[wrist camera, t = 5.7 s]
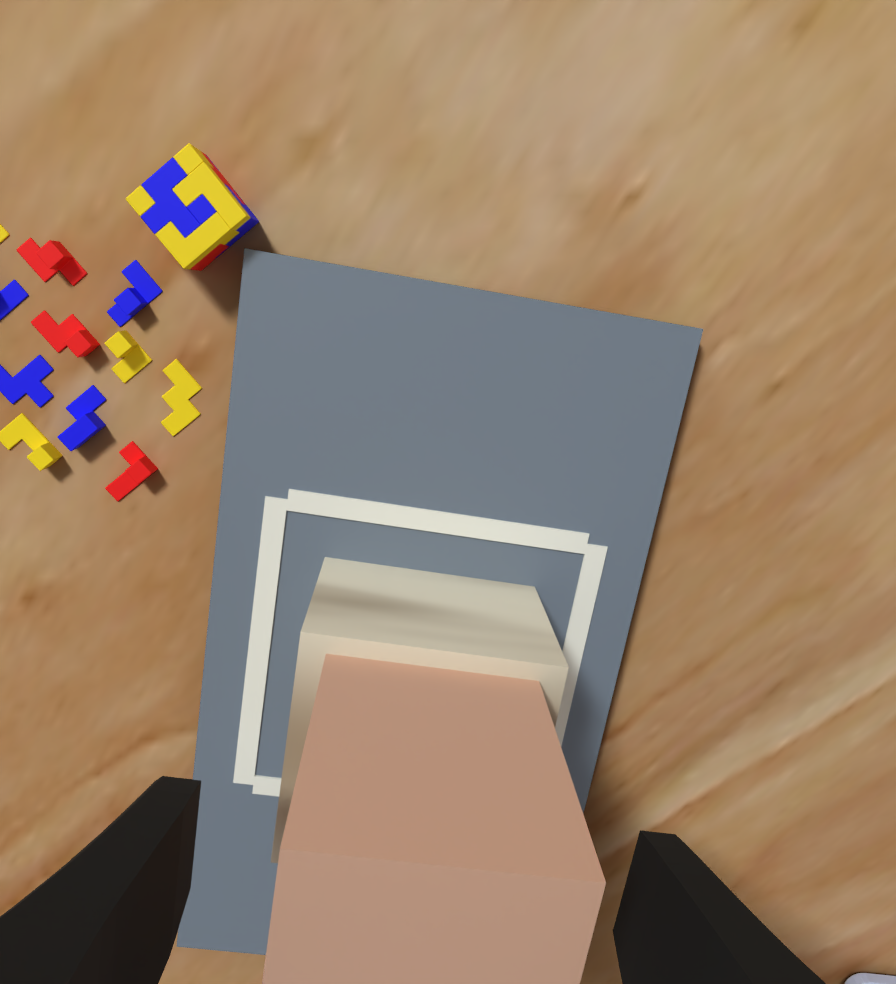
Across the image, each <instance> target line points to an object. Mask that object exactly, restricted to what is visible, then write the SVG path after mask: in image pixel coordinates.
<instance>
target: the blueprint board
mask: <svg viewBox="0 0 896 984" xmlns="http://www.w3.org/2000/svg"><path fill="white" fill-rule="evenodd" d="M702 332H703V329H700V328H694V327H689V326H683V325H677V324H672V323H666V322H660V321H655V320H649V319H643V318H638V317H632V316H626V315H620V314H615V313H609V312H603V311H598V310H592V309H586V308H581V307H575V306H569V305H564V304H558V303H552V302H547V301H541V300H535V299H530V298H524V297H518V296H513V295H507V294H501V293H496V292H490V291H484V290H479V289H473V288H467V287H462V286H456V285H450V284H445V283H439V282H433V281H427V280H422V279H416V278H410V277H405V276H399V275H393V274H388V273H382V272H376V271H371V270H365V269H359V268H354V267H348V266H342V265H337V264H331V263H325V262H320V261H314V260H308V259H303V258H297V257H291V256H286V255H280V254H274V253H269V252H263V251H257V250H252V249H246V248H244V258H243V269H242V279H241V289H240V300H239V310H238V320H237V330H236V341H235V351H234V361H233V372H232V382H231V392H230V403H229V413H228V423H227V433H226V444H225V454H224V464H223V475H222V485H221V495H220V506H219V516H218V526H217V536H216V547H215V557H214V567H213V578H212V588H211V598H210V609H209V619H208V629H207V639H206V650H205V660H204V670H203V681H202V691H201V701H200V711H199V722H198V732H197V742H196V753H195V763H194V773H193V780H201V790H200V800H199V810H198V820H197V830H196V840H195V850H194V860H193V870H192V880H191V889H190V892H189V895H188V899H187V902H186V905H185V908H184V912H183V915H182V918H181V922H180V925H179V928H178V938H177V947H187V948H198V949H208V950H219V951H230V952H240V953H251V954H261V955H266V950H267V943H268V935H269V928H270V920H271V912H272V905H273V897H274V890H275V882H276V874H277V867H278V863H271V855H272V847H273V840H274V832H275V824H276V817H277V809H278V801H279V794H280V786H281V778H282V771H283V763H284V755H285V748H286V740H287V732H288V725H289V717H290V709H291V702H292V694H293V686H294V679H295V671H296V663H297V656H298V648H299V640H300V633H301V629H302V626H303V623H304V620H305V617H306V614H307V611H308V607H309V604H310V601H311V598H312V595H313V592H314V589H315V586H316V583H317V580H318V577H319V574H320V571H321V568H322V564H323V561H324V558H325V557H329V558H336V559H343V560H350V561H357V562H364V563H371V564H378V565H386V566H393V567H400V568H407V569H414V570H421V571H428V572H435V573H442V574H449V575H456V576H463V577H470V578H477V579H484V580H491V581H498V582H506V583H513V584H520V585H527V586H534V587H535V588H536V591H537V593H538V595H539V598H540V600H541V602H542V605H543V607H544V610H545V612H546V614H547V617H548V619H549V621H550V624H551V626H552V629H553V631H554V633H555V636H556V638H557V640H558V643H559V645H560V648H561V650H562V652H563V655H564V657H565V659H566V662H567V664H568V666H569V669H568V673H567V678H566V682H565V686H564V691H563V695H562V700H561V704H560V708H559V713H558V717H557V721H556V726H555V730H556V733H557V736H558V739H559V742H560V745H561V748H562V751H563V754H564V757H565V760H566V763H567V766H568V769H569V772H570V775H571V779H572V782H573V785H574V788H575V791H576V794H577V797H578V800H579V803H580V806H581V809H582V812H583V813H584V809H585V805H586V801H587V797H588V793H589V789H590V785H591V781H592V776H593V772H594V768H595V764H596V760H597V756H598V752H599V748H600V744H601V740H602V736H603V732H604V728H605V724H606V720H607V716H608V712H609V708H610V704H611V700H612V696H613V692H614V688H615V684H616V679H617V675H618V671H619V667H620V663H621V659H622V655H623V651H624V647H625V643H626V639H627V635H628V631H629V627H630V623H631V619H632V615H633V611H634V607H635V603H636V599H637V595H638V591H639V587H640V582H641V578H642V574H643V570H644V566H645V562H646V558H647V554H648V550H649V546H650V542H651V538H652V534H653V530H654V526H655V522H656V518H657V514H658V510H659V506H660V502H661V498H662V494H663V490H664V485H665V481H666V477H667V473H668V469H669V465H670V461H671V457H672V453H673V449H674V445H675V441H676V437H677V433H678V429H679V425H680V421H681V417H682V413H683V409H684V405H685V401H686V397H687V393H688V388H689V384H690V380H691V376H692V372H693V368H694V364H695V360H696V356H697V352H698V348H699V344H700V340H701V336H702Z"/></svg>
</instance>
